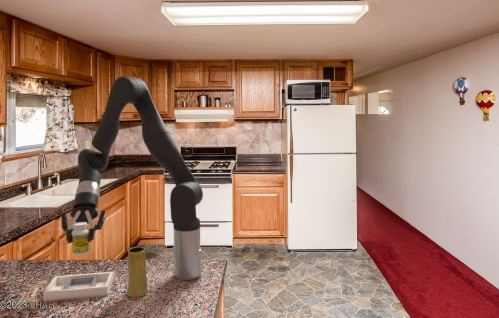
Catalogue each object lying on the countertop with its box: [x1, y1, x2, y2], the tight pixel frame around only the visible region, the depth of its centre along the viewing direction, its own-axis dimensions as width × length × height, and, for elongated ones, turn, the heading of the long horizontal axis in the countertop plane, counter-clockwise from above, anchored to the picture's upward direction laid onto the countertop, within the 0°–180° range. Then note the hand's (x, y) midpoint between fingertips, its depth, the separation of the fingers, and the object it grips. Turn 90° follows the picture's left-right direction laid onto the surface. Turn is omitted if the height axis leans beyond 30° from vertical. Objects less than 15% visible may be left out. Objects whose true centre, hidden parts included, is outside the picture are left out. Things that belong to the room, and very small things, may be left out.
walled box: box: [42, 271, 114, 303], centre depth 110 cm, size 18×11×3 cm, turn 103°
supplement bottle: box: [71, 222, 92, 256], centre depth 111 cm, size 5×5×10 cm
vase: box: [127, 246, 149, 298], centre depth 108 cm, size 6×6×14 cm
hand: (79, 241), depth 110 cm, fingers closed on supplement bottle, 5 cm apart
